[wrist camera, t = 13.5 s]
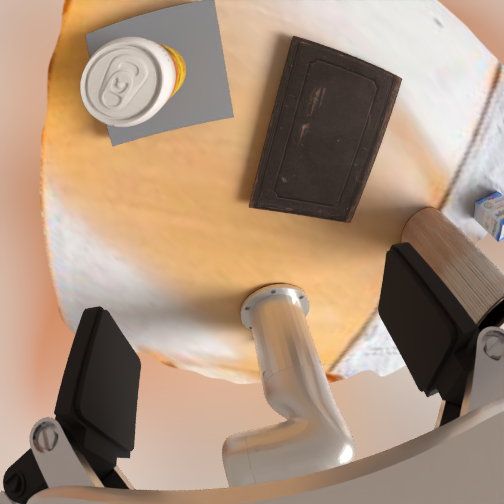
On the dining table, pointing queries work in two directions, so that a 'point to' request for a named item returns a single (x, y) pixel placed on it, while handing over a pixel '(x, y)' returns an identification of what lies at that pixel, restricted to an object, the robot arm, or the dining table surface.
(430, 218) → the planter
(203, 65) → the plate
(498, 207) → the medicine box
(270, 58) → the dining table surface
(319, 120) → the hardcover book
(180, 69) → the beer can
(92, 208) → the dining table surface
